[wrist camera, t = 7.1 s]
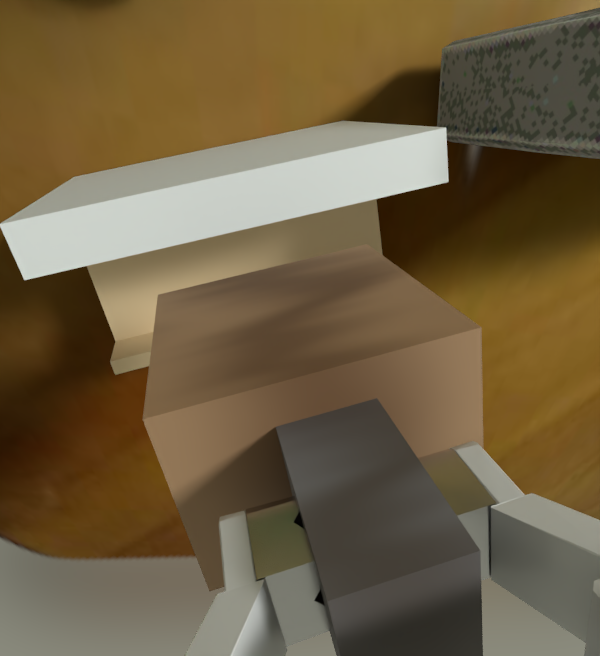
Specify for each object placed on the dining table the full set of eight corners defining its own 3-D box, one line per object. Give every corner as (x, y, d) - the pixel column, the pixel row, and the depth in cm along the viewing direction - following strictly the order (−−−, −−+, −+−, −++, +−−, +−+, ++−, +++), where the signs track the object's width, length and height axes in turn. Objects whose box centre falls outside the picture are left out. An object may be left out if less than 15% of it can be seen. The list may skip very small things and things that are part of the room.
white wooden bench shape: (342, 120, 30) (446, 127, 18) (361, 264, 34) (456, 345, 22) (74, 176, 28) (-1, 224, 16) (127, 323, 32) (98, 444, 20)
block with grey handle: (366, 244, 16) (642, 445, 7) (382, 375, 19) (605, 670, 9) (157, 294, 16) (119, 610, 6) (200, 426, 18) (225, 812, 8)
